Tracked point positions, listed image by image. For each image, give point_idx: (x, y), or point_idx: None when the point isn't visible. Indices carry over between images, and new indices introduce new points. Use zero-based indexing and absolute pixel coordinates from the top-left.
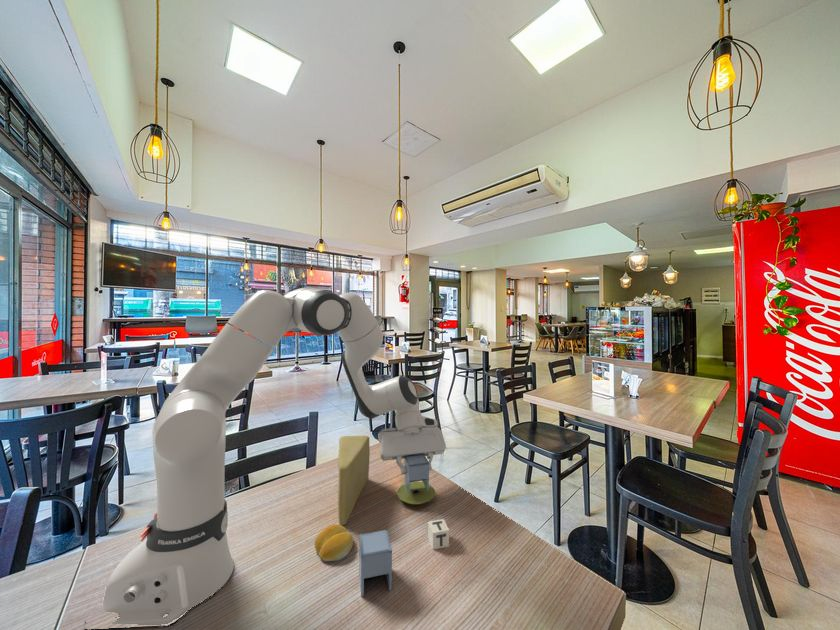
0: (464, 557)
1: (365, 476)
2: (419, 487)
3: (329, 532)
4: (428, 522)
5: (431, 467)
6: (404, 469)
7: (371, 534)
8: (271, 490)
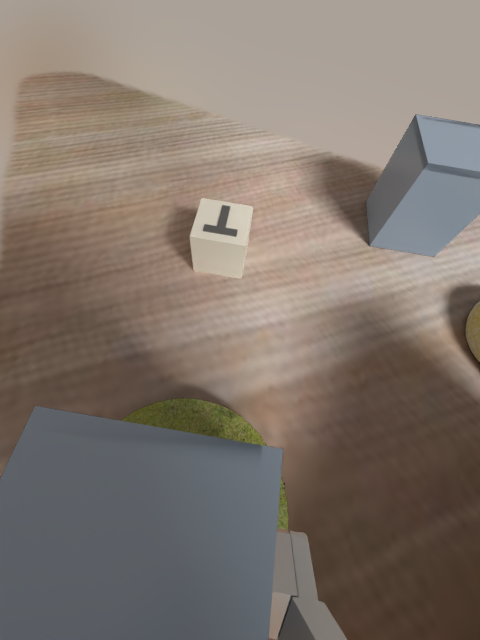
0: (189, 200)
1: None
2: None
3: None
4: (246, 242)
5: None
6: (285, 549)
7: (478, 164)
8: None
